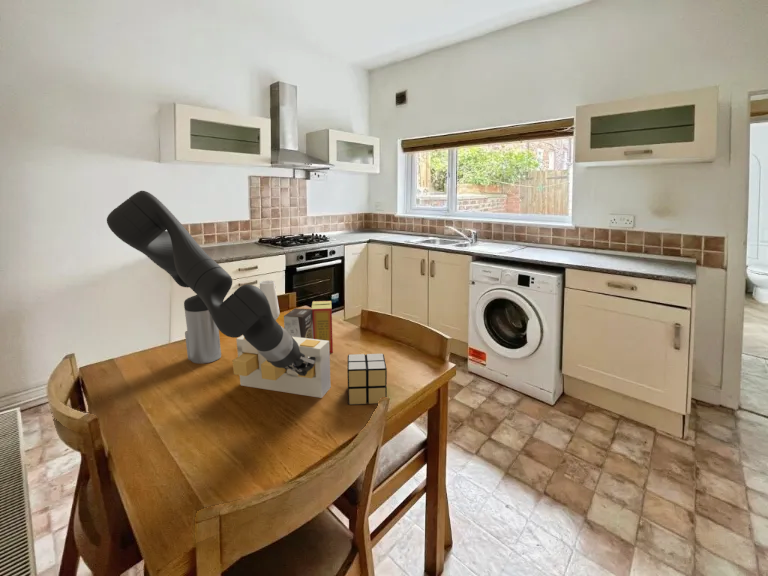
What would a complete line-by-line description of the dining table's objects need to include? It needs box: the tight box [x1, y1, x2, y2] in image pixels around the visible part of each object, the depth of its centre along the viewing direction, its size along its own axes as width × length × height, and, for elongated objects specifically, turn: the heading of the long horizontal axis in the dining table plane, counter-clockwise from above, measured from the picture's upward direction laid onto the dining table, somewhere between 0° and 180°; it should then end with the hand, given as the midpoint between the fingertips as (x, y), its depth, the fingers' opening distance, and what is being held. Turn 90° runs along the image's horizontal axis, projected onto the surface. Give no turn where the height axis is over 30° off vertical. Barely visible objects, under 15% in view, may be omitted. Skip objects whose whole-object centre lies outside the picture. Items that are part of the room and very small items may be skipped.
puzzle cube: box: [347, 353, 388, 406], centre depth 110 cm, size 10×10×10 cm
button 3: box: [298, 363, 316, 378], centre depth 111 cm, size 4×6×4 cm
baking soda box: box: [311, 300, 334, 354], centre depth 142 cm, size 10×6×16 cm
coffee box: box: [283, 307, 314, 339], centre depth 132 cm, size 9×6×16 cm
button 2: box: [261, 360, 287, 381], centre depth 109 cm, size 4×6×4 cm
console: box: [236, 335, 331, 399], centre depth 114 cm, size 25×6×14 cm, turn 74°
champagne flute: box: [259, 280, 280, 321], centre depth 138 cm, size 7×7×24 cm
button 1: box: [232, 352, 259, 376], centre depth 112 cm, size 4×6×4 cm
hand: (303, 372), depth 107 cm, fingers closed
